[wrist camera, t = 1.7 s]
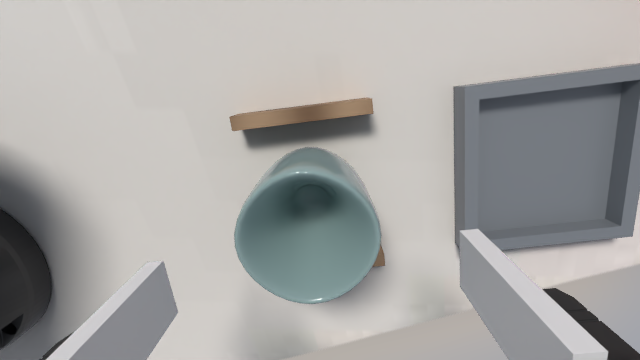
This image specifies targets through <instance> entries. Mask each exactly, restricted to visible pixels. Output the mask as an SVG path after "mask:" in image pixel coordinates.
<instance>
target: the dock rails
mask: <svg viewBox="0 0 640 360" xmlns="http://www.w3.org/2000/svg"><path fill="white" fill-rule="evenodd" d="M365 114H373V104H372V99H371V98H361V99H353V100H345V101H337V102H329V103H321V104H313V105H305V106H298V107H290V108H282V109H274V110H266V111H258V112H250V113H243V114H237V115H234V116H231V117H230V122H231V127H232V131H237V130H245V129H253V128H261V127H269V126H277V125H285V124H293V123H301V122H309V121H317V120H325V119H333V118H341V117H349V116H357V115H365ZM375 266H385V259H384V253H383V250H382V247H381V244H380V249H379V252H378V255H377V258H376V261H375V262H374V264H373V266H372V267H375Z"/></svg>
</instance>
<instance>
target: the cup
mask: <svg viewBox="0 0 640 360" xmlns="http://www.w3.org/2000/svg"><path fill="white" fill-rule="evenodd" d="M234 237H235V248H236V252H237V255H238V258H239V260H240V262H241V263H242V265H243V267H244V268H245V270H246V271H247V272H248V273H249V275H250V276H251V277H252V278H253V279H254V280H255V281H256V282H257V283H258V284H260V285H261V286H262V287H263V288H265V289H266V290H268V291H269V292H271V293H273V294H274V295H276V296H279V297H281V298H284V299H286V300H288V301H293V302H297V303H304V304H316V303H322V302H327V301H330V300H332V299H335V298H338V297H340V296H341V295H343V294H345V293H346V292H348V291H350V290H351V289H352V288H354V287H355V286H356V285H357V284H358V283H359V282H361V281H362V279H363V278H364V277H365V276H366V275H367V273H368V272H369V271H370V269H371V268H372V266H373V264H374V262H375V261H376V258H377V255H378V252H379V249H380V242H381V229H380V223H379V218H378V215H377V212H376V209H375V207H374V205H373V202H372V200H371V198H370V195H369V193H368V191H367V189H366V187H365V185H364V183H363V181H362V180H361V178H360V177H359V175H358V174H357V172H356V171H355V170H354V169H353V168H352V167H351V166H350V165H349V164H348V163H347V162H346V161H345V160H344V159H342V158H341V157H340V156H338V155H337V154H335V153H333V152H331V151H328V150H326V149H322V148H318V147H304V148H300V149H296V150H294V151H292V152H290V153H287V154H286V155H284V156H283V157H282V158H280V159H279V160H277V161H276V162H275V163H274V164H273V165H272V166H271V167H270V168H269V169H268V170H267V171H266V172H265V174H264V175H263V176H262V177H261V179H260V180H259V182H258V183H257V184H256V186H255V187H254V189H253V190H252V192H251V193H250V195H249V196H248V198H247V199H246V201H245V203H244V204H243V207H242V209H241V211H240V214H239V216H238V218H237V222H236V228H235V233H234Z"/></svg>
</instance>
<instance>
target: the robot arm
mask: <svg viewBox="0 0 640 360" xmlns="http://www.w3.org/2000/svg"><path fill="white" fill-rule="evenodd" d="M460 287H461V289H462V290H463V292H464V293H465V295H466V296H467V298H468V299H469V301H470V302H471V304H472V305H473V307H474V308H475V310H476V311H477V313H478V314H479V316H480V317H481V319H482V320H483V322H484V323H485V325H486V327H487V328H488V330H489V331H490V333H491V334H492V336H493V337H494V338H495V340H496V342H497V343H498V345H499V346H500V348H501V349H502V350H503V352H504V354H505V355H506V357H507V358H508V359H509V360H640V354H639V353H638V352H637V351H635V350H634V349H633V348H632V347H631V346H630V345H629V344H627V343H626V342H625V341H624V340H623V339H621V338H620V337H619V336H618V335H617V334H616V333H614V332H613V331H612V330H611V329H610V328H609V327H607V326H606V325H605V324H604V323H603V322H602V321H599V320H598V318H597V317H596V316H595V315H593V314H592V313H591V312H590V311H587V309H586V308H585V307H584V306H583V305H582V304H581V303H579V302H578V301H577V300H576V299H575V298H574V297H572V296H570V295H568V294H566V293H564V292H562V291H560V290H558V289H556V288H552V289H541V288H540V287H539V286H538V285H537V284H536V283H535V282H534V281H533V280H532V279H531V278H530V277H529V276H527V275H526V274H525V273H524V272H523V271H522V270H521V269H520V268H519V267H518V266H517V265H516V264H515V263H514V262H513V261H512V260H511V259H509V258H508V257H507V256H506V255H505V254H504V253H503V252H502V251H501V250H500V249H499V248H498V247H497V246H496V245H495V244H494V243H492V242H491V241H490V240H489V239H488V238H487V237H486V236H485V235H484V234H483V233H482V232H481V231H480V230H479V229H471V230H461V231H460ZM50 294H51V280H50V274H49V270H48V266H47V264H46V261H45V259H44V256H43V254H42V253H41V251H40V249H39V247H38V246H37V244H36V243H35V241H34V240H33V239H32V237H31V236H30V235H29V234H28V233H27V231H26V230H25V229H24V228H23V227H22V226H21V225H20V224H19V223H18V222H16V221H15V220H14V219H13V218H12V217H10V216H9V215H8V214H6V213H5V212H3V211H2V210H0V350H1V349H3V348H4V347H6V346H8V345H9V344H11V343H12V342H14V341H15V340H16V339H17V338H19V337H20V336H21V335H22V334H24V333H25V332H26V331H27V330H28V329H30V328H31V327H32V326H33V325H34V324H36V323H37V322H38V321H39V319H40V318H41V317H42V316H43V314H44V312H45V310H46V308H47V306H48V303H49V300H50ZM177 313H178V310H177V307H176V303H175V300H174V296H173V293H172V289H171V286H170V282H169V279H168V275H167V272H166V268H165V265H164V261H154V262H147V263H146V264H145V265H144V266H143V267H141V268H140V269H139V270H138V271H137V272H136V273H135V274H134V275H133V276H132V277H131V278H130V279H129V280H128V281H127V282H126V283H125V284H124V285H123V286H122V287H121V288H120V289H119V290H118V291H117V292H115V293H114V294H113V295H112V296H111V297H110V298H109V299H108V300H107V301H106V302H105V303H104V304H103V305H102V306H101V307H100V308H99V309H98V310H97V311H96V312H95V313H94V314H93V315H92V316H91V317H89V318H88V319H87V320H86V321H85V322H84V323H83V324H82V325H81V326H80V327H79V328H78V329H77V330H76V331H75V332H73V333H72V334H70V335H69V336H67V337H66V338H64V339H63V340H61V341H60V342H58V343H57V344H55V345H54V346H53V347H52V348H51V349H50V350H49V351H48V352H47V353H46V354H45V355H44V356H43V358H42V359H40V360H146V359H147V358H148V357H149V355H150V354H151V352H152V351H153V349H154V348H155V346H156V345H157V343H158V342H159V340H160V339H161V337H162V336H163V334H164V333H165V331H166V330H167V328H168V327H169V325H170V324H171V322H172V321H173V319H174V318H175V316H176V315H177Z"/></svg>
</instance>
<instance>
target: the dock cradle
mask: <svg viewBox="0 0 640 360" xmlns="http://www.w3.org/2000/svg"><path fill="white" fill-rule="evenodd" d="M454 174H455V243H456V244H457V245H458V246H459V247H460V231H461V230H471V229H479V230H480V231H481V232H482V233H483V234H484V235H485V236H486V237H487V238H488V239H489V240H490V241H491V242H492V243H494V244H495V245H496V246H497V247H498V248H499V249H500V250H506V249H516V248H526V247H535V246H545V245H555V244H564V243H574V242H584V241H593V240H603V239H612V238H622V237H632V236H633V230H634V224H635V218H636V211H637V205H638V199H639V192H640V63H638V64H628V65H620V66H612V67H604V68H596V69H589V70H581V71H573V72H565V73H557V74H549V75H541V76H534V77H526V78H518V79H510V80H502V81H494V82H486V83H478V84H471V85H463V86H455V87H454Z"/></svg>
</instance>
